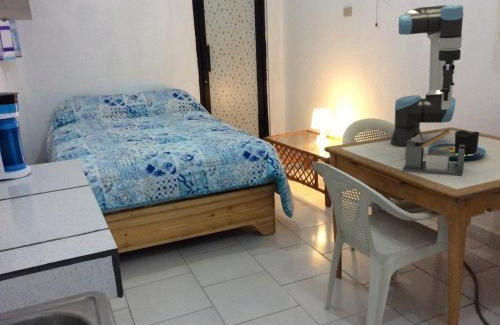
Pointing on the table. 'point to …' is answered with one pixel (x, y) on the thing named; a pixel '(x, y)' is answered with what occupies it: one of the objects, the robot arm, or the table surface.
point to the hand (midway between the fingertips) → (446, 105)
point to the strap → (436, 138)
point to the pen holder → (466, 141)
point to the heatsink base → (432, 160)
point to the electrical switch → (416, 140)
